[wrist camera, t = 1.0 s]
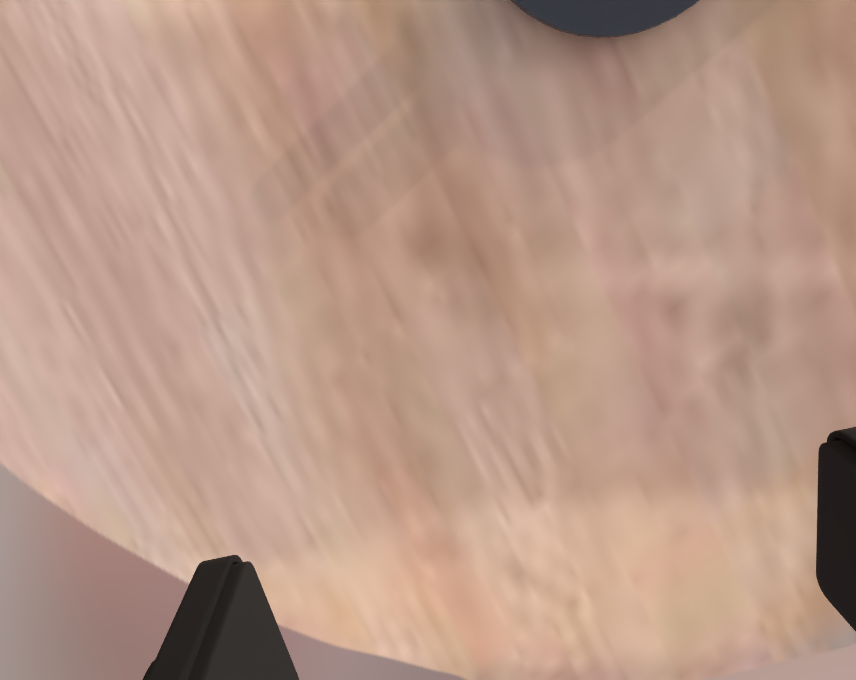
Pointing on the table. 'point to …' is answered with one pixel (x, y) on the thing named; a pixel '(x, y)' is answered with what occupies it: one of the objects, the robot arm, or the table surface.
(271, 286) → the table surface
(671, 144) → the table surface
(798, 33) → the table surface
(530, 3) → the pot lid
